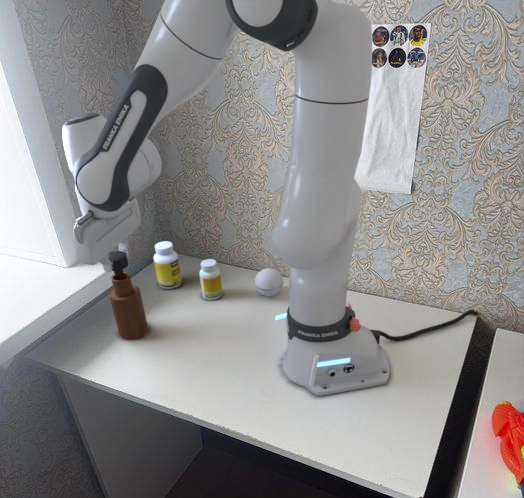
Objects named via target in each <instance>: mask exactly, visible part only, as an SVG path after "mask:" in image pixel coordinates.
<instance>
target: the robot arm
mask: <svg viewBox="0 0 524 498" xmlns="http://www.w3.org/2000/svg"><path fill="white" fill-rule="evenodd" d="M241 32H243V33H244V34H246V35H247V36H249V37H251V38H253V39H254V40H257V41H259V42H261V43H265V44H267V45H269V46H271V47H274V48H276V49H277V50H280V51H282V52H285V53H287V52H290V51H292V54H293V56H294V60H295V81H294V82H295V83H294V97H293V98H294V99H293V113H292V115H293V117H292V130H291V131H292V133H291V134H292V135H291V147H290V153H289V159H288V164H287V168H286V173H285V178H284V183H283V187H282V194H281V198H280V205H279V210H278V215H277V218H276V221H275V224H274V228H273V230H272V237H271V238H272V246H273V249H274V251H275V253H276V255H277V257H278V258H279V259H280V260H281V261H282V262H283V263H284V264H285V265H287V266H288V267H290V269H289V273H288V307H287V310H286V312H285V313H281V314H278V315H275V316H274V318H275V319H274V320H275V321H278V320H282V319H285V318H286V319H285V320H286V321H285V323H286V324H285V326H286V334H287V343H286V349H285V353H284V357H283V359H282V362H281V369H282V371H283V374H284V375H285V376H286V377H287V379H288V380H289V381H291V382H292V383H295V384H296V385H298V386H300V387H304V388H306V389H307V390H309V392H311V393H312V394H314V395H316V396H319V397H322V396H323V397H324V396H328V395H333V394H338V393H343V392H344V393H345V392H350V391H355V390H360V389H361V390H362V389H366V388H372V387H377V386H382V385H386V383H387V382H388V381H389V378H390V372H391V371H390V367H391V366H390V362H389V359H388V356H387V354H386V352H385V350H384V349H383V348H382V347H381V346H380V341H381V337H383V338H385V339H386V340H389V341H393V342H396V341H397V342H399V341H405V340H409V339H411V338H414V337H417V336H419V335H423V334H426V333H429V332H433V331H436V330H439V329H444V328H446V327H449V326H452V325H455V324H457V323H459V322H461V321H462V320H464V319H465V318H467V316H469V315H471V314H472V315H474V316H475V315H476V316H477V315H479V312H478V311H477V310H476V312H475V311H474V310H475V309H469V310H467V311H465V312H463V313H462V314H461V315H459V316H457V317H456V318H454V319H451V320H448V321H446V322H443V323H439V324H436V325H433V326H429V327H426V328H422V329H419V330H416V331H414V332H411V333H408V334H404V335H399V336H393V335H390V334H388V333H386V332H384V331H381V330H380V329H379V330H378V329H371V328H370V329H369V328H368V327H366V326H364V325H362V324H360V320H359V319H357V318H356V313H355V311H354V310H353V307H352V305H351V304H350V302H348V303H347V293H348V281H349V274H350V268H351V262H352V258H353V252H354V246H355V241H356V235H357V229H358V223H359V215H360V208H361V203H362V191H361V188H360V184H359V183H358V181H357V180H356V179H355V175H356V173H357V168H358V164H359V161H360V158H361V154H362V150H363V143H364V137H365V136H364V134H365V130H366V129H365V128H366V121H367V115H368V107H369V101H370V92H371V85H372V73H373V72H372V71H373V31H372V25H371V20H370V19H369V17H368V15H367V14H366V13H365V12H364V11H362V10H361V9H360V8H358V7H357V6H354V5H351V4H348V3H343V2H335V1H333V0H164V1H163V3H162V6H161V8H160V11H159V13H158V15H157V18H156V20H155V21H154V26H153V27H152V30H151V32H150V35H149V36H148V39H147V41H146V43H145V46H144V47H143V50H142V53H141V54H140V57H139V58H138V60H137V62H136V64H135V65H134V68H133V70H132V72H131V74H130V76H129V78H128V80H127V82H126V83H125V85H124V87H123V88H122V91H121V92H120V94H119V96H118V97H117V100H116V102H115V104H114V105H113V108H112V110H111V112H110V114H109V115H108V117H107V118H106V117H105V116H104V115H103V114H101V113H96V112H94V113H93V112H92V113H87V114H83V115H80V116H76V117H74V118H71V119H69V120H68V121H66V122H64V124H63V126H62V130H61V131H62V144H63V149H64V153H65V154H64V155H65V157H66V161H67V166H68V168H69V171H70V172H71V174H72V176H73V179H74V189H75V191H74V192H75V195H76V197H77V202H78V205H79V209H80V213H81V215H82V216H80V217H78V218H77V219H75V224H74V227H73V230H72V238H73V239H72V240H73V245H74V250H75V251H74V252H75V255H76V260H77V261H78V262H79V263H81V264H82V265H87V266H88V265H90V266H95V265H97V264H98V263H100V264H101V265H102V268H103V271H104V272H106V273H111V272H113V271H112V270H113V269H114V268H115V267H114V263H113V262H110V261H109V259H108V257H109V254H108V253H109V252H112V251H114V249H115V248H117V246H118V250H117V251H123V252H125V253H126V256H127V257H129V255H130V254H129V250H128V249H129V241H130V239H129V236H130V235H132V233H134V232H135V231H136V230H137V229H138V228H140V225H141V220H142V219H141V212H140V207H139V202H138V200H137V196H138V194H140V193H141V192H143V191H144V190H145V189H147V188H148V187H149V186H151V185H152V184H153V183H155V182H156V181H157V180H158V179H159V178H160V177H161V174H162V173H163V159H162V155H161V152H160V151H159V148H158V147H157V145H156V144H155V143H154V142H153V140H151V139H150V138H149V136H150V134H151V132H152V131H153V129H154V128H155V127H156V125H158V123H159V122H160V121H161V120H163V118H164V117H166V116H167V115H168V114H170V112H172V111H173V110H175V109H177V108H178V107H179V106H181V105H183V104H184V103H185V102H188V100H190V99H192V98H194V97H195V96H196V95H198V94H199V93H200V92H202V91H203V89H204V88H205V87H206V86H207V85H208V84H209V82H210V81H211V80H212V78H214V76H215V75H216V74H217V72H218V70H219V68H220V67H221V65H222V64H223V61H224V60H225V58H226V56H227V54H228V52H229V51H230V48H231V46H232V45H233V43H234V41H235V40H236V38H237V36H238V35H239V33H241ZM347 305H348V306H347Z"/></svg>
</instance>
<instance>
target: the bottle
mask: <svg viewBox="0 0 524 498" xmlns="http://www.w3.org/2000/svg"><path fill="white" fill-rule="evenodd" d="M110 280H111V284H112V287H113V288H112V289H111V290H109V293H108V297H109V301H110V305H111V308H112V312H113V315H114V318H115V323H116V327H117V330H118V334H119V336H120V337H121V338H122V339H123V340H127V341H133V340H138V339H141V338H143V337H144V336H146V335H147V334H148V333H149V325H148V321H147V316H146V311H145V307H144V302H143V300H142V299H143V298H142V293H141V289H140V287H138V286H137V285H135V284H133V283H132V278H131V274H129V273H128V272H125V271H123V274H121V275H115V274H113V275H112V276H111V277H110Z"/></svg>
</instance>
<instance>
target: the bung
mask: <svg viewBox="0 0 524 498" xmlns="http://www.w3.org/2000/svg"><path fill="white" fill-rule="evenodd" d="M108 254H109V257H108V259H109V261H110V262H113V263H114V267H115V268H114V269H113V270H112V271H111V272H113V273H114V274H115V275H121V274H123V272H124V269H126V268H128V266H129V259H128V256H126V253H125V252H123V251H118V250H112V251H110V252H109V253H108ZM114 274H113V275H114Z"/></svg>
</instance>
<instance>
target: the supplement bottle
mask: <svg viewBox="0 0 524 498" xmlns="http://www.w3.org/2000/svg"><path fill="white" fill-rule="evenodd" d="M198 274H199V283H200V290H201V297H202V298H203V299H205V300H208V301H214V300H218V299H220V298H221V297H222V295H223V285H222V276H221V274H222V273H221V270H220V268H219V267H218V262H217V260H215V259H214V258H207V259H204V260H202V261H201V262H200V270H199V273H198Z"/></svg>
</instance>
